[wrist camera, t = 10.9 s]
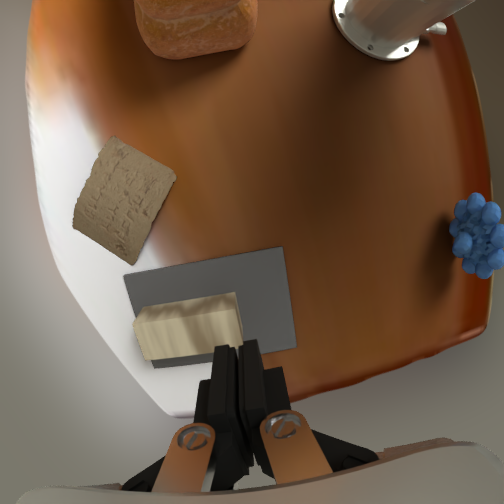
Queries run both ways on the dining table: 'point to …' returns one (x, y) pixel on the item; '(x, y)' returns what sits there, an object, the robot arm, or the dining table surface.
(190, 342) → the birch block
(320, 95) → the dining table surface
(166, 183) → the clay tablet
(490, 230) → the grapes
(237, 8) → the bread
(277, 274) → the rubber mat
